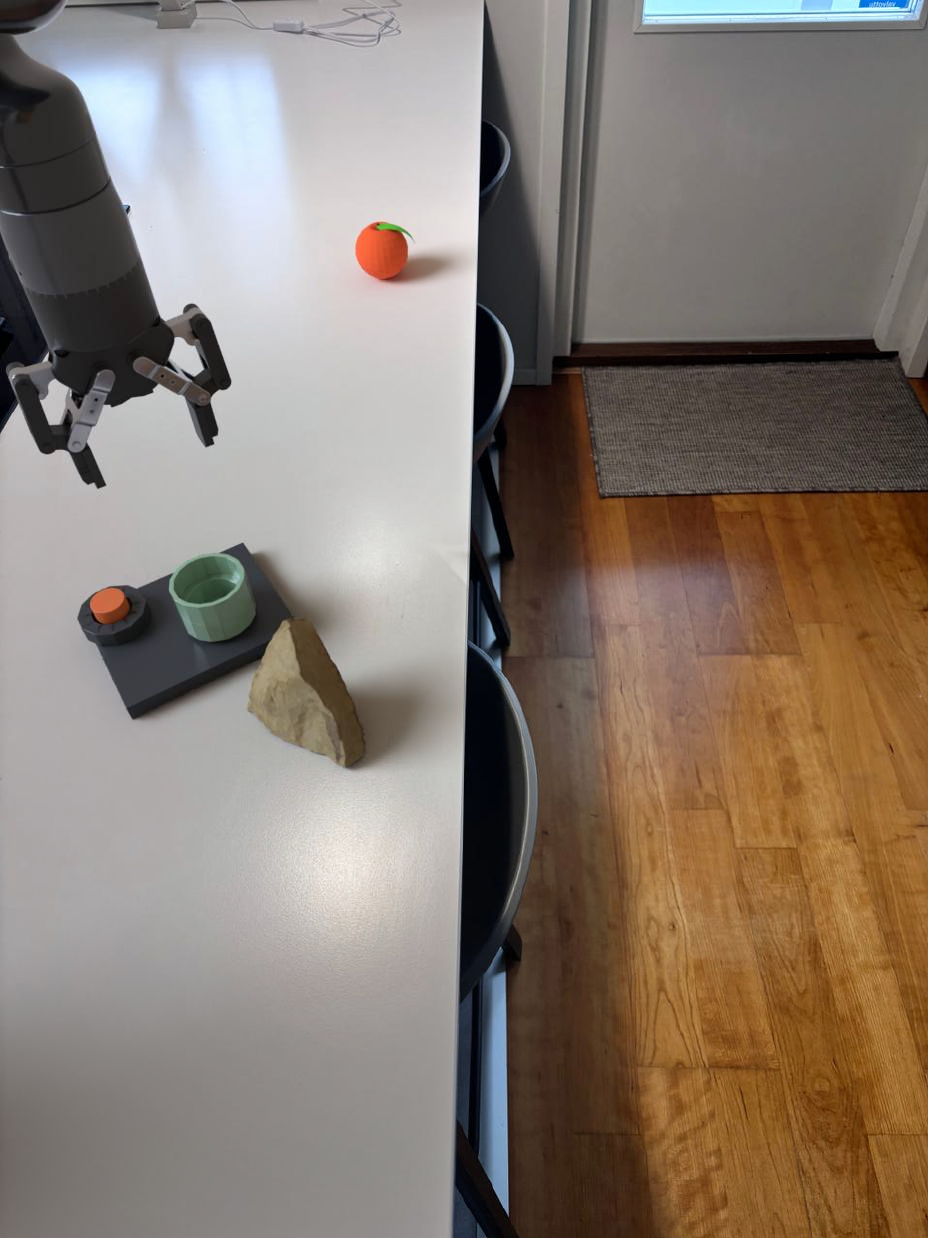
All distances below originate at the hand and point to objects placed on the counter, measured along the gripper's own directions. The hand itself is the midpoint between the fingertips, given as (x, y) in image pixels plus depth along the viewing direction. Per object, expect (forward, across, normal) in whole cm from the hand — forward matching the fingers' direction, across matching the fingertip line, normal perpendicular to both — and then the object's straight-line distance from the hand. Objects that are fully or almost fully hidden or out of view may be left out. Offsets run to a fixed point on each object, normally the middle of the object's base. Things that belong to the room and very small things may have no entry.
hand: (153, 460), depth 72 cm
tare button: (+16, -7, +4) cm, 19 cm away
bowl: (+18, +1, -1) cm, 18 cm away
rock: (+19, +2, -15) cm, 25 cm away
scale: (+19, -2, +1) cm, 19 cm away
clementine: (+19, +43, +46) cm, 66 cm away
